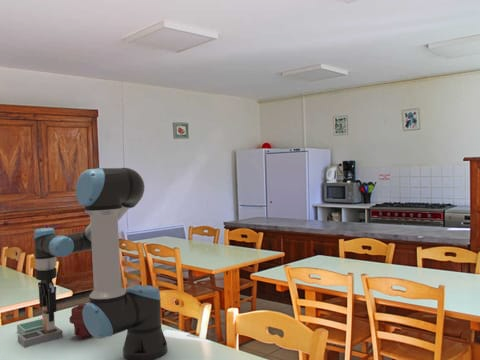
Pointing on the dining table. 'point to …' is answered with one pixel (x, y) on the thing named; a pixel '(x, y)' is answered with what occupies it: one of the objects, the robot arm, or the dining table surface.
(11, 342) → the dining table surface
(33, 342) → the socket block
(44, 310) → the fuse
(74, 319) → the mechanical component
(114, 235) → the robot arm
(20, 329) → the parts tray
